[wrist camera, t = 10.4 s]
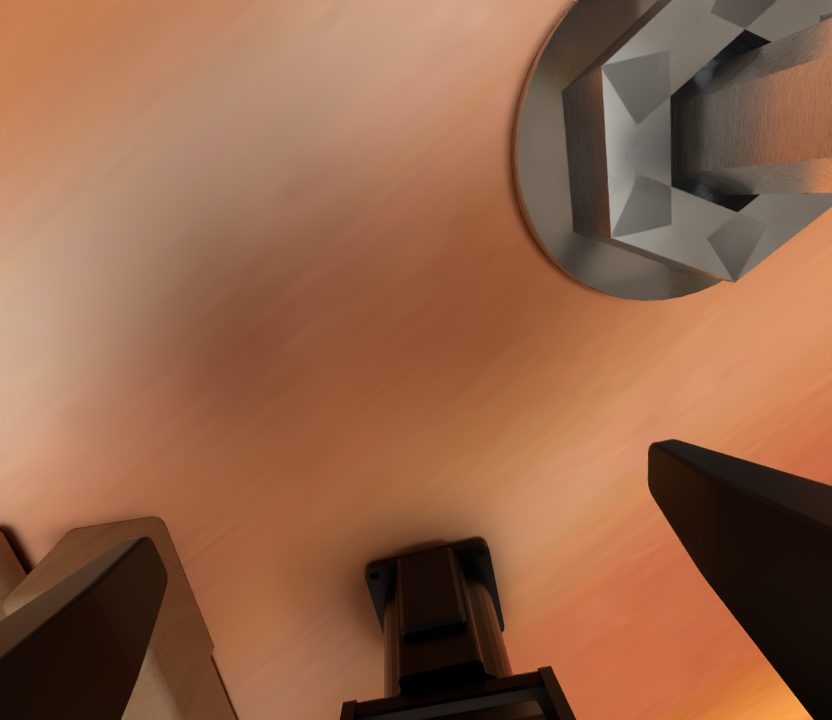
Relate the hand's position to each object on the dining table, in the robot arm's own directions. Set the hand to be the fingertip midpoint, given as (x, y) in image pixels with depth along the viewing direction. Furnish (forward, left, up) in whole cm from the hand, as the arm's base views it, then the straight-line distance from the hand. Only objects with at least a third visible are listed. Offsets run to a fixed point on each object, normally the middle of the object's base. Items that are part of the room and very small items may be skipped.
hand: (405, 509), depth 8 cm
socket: (+5, -12, -12) cm, 18 cm away
